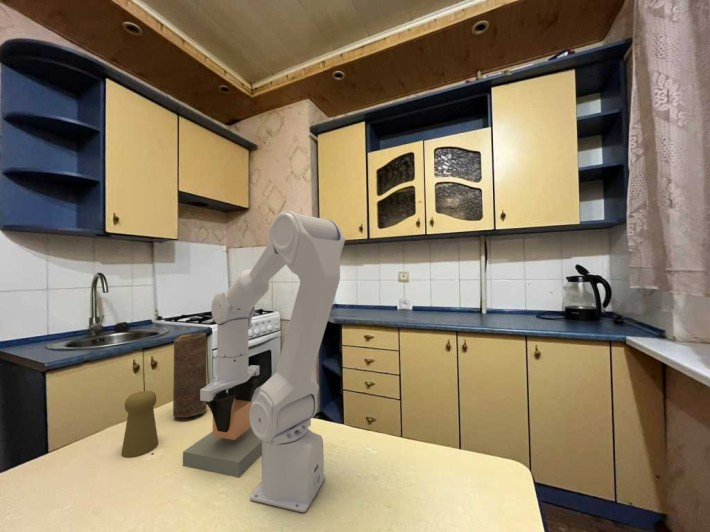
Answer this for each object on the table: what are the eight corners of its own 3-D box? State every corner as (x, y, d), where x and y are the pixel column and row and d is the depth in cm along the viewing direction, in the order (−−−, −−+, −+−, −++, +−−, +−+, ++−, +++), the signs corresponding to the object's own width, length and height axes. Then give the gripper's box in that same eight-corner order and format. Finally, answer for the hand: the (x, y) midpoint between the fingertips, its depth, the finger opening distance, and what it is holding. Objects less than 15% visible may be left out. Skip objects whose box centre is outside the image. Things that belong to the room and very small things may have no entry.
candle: (196, 422, 68) (196, 337, 69) (165, 422, 69) (166, 337, 69) (212, 408, 76) (212, 331, 77) (184, 408, 76) (185, 331, 77)
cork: (138, 459, 55) (139, 400, 55) (112, 455, 56) (113, 398, 56) (165, 441, 61) (166, 388, 61) (141, 438, 62) (142, 386, 62)
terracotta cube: (251, 426, 59) (251, 401, 59) (234, 440, 54) (234, 412, 54) (230, 423, 60) (230, 399, 60) (212, 436, 55) (212, 409, 55)
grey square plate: (276, 441, 61) (276, 427, 61) (238, 480, 49) (238, 462, 49) (228, 434, 64) (228, 420, 64) (182, 468, 53) (183, 451, 53)
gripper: (240, 344, 66) (240, 405, 65) (186, 362, 52) (185, 440, 51) (267, 346, 64) (267, 408, 63) (219, 365, 50) (218, 446, 49)
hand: (233, 423), depth 57 cm, fingers closed on terracotta cube, 5 cm apart
